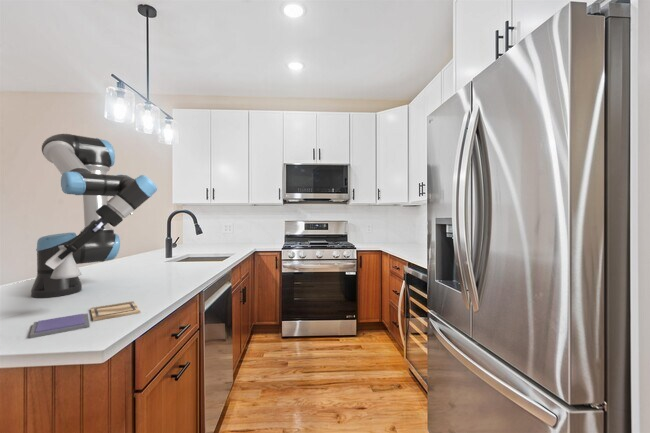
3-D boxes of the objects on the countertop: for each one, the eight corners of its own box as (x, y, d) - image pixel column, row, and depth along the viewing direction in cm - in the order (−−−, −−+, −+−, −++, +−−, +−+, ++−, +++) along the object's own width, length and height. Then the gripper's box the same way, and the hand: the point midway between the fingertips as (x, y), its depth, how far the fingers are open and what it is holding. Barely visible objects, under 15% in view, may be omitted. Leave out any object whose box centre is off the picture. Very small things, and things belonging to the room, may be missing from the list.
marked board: (90, 309, 101) (90, 307, 101) (133, 302, 109) (133, 300, 109) (93, 321, 90) (93, 319, 90) (140, 312, 98) (140, 310, 98)
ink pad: (34, 324, 87) (34, 320, 87) (87, 315, 95) (87, 312, 95) (29, 338, 78) (29, 333, 78) (89, 327, 86) (89, 322, 86)
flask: (64, 280, 93) (63, 247, 93) (44, 279, 94) (43, 246, 94) (87, 275, 100) (86, 244, 100) (68, 274, 101) (67, 244, 101)
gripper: (127, 219, 100) (60, 277, 90) (120, 218, 113) (61, 269, 103) (107, 203, 97) (35, 261, 86) (103, 203, 109) (39, 254, 99)
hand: (49, 265), depth 95 cm, fingers closed on flask, 3 cm apart
